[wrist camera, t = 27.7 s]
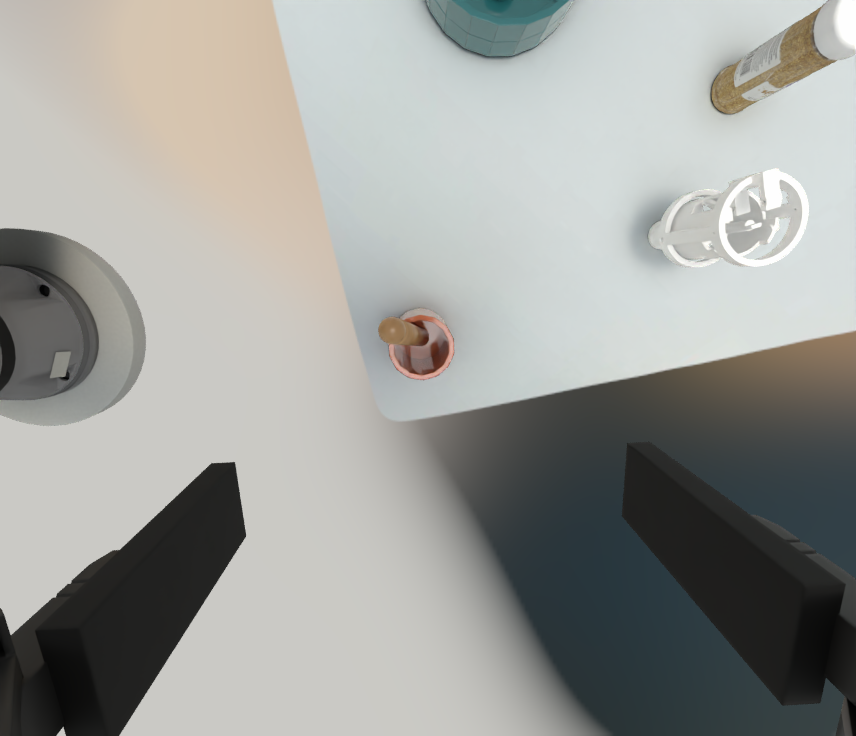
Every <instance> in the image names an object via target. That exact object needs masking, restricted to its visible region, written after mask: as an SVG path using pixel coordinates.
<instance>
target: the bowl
mask: <svg viewBox="0 0 856 736" xmlns="http://www.w3.org/2000/svg"><path fill="white" fill-rule="evenodd" d="M573 1H574V0H426V2H427V5H428V8H429V10H430V12H431V13H432V15H433V16H434V18H435V19H436V21H437V22H438V24H439V25H440V27H441V28H442V30H443V31H444V32H445V33H446V34H447V35H448V36H449V37H451V38H452V39H453V40H454V41H456V42H457V43H458V44H459V45H461V46H462V47H463V48H465V49H468V50H471V51H473V52H476V53H479V54H482V55H485V56H488V57H490V56H513V55H516V54H518V53H521V52H523V51H526V50H528V49H531V48H533V47H535V46H537V45H538V44H539V43H540V42H542V41H543V40H544V39H545V38H546V37H547V36H549V35H550V34H551V33H552V32H553V31H554V30H555V29H556V28H557V27H558V25H559V24H560V22H561V20H562V19H563V17H564V16H565V14H566V13H567V11H568V9H569V8H570V6H571V5H572V3H573Z"/></svg>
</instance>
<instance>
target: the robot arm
mask: <svg viewBox="0 0 856 736" xmlns="http://www.w3.org/2000/svg"><path fill="white" fill-rule="evenodd" d="M98 349H99V337H98V330H97V326H96V323H95V320H94V317H93V315H92V313H91V311H90V309H89V307H88V306H87V304H86V303H85V301H84V300H83V299H82V297H81V296H80V295H79V294H78V293H77V292H76V291H75V290H74V289H73V288H72V287H71V286H70V285H69V284H68V283H66V282H65V281H64V280H62V279H61V278H59V277H57V276H56V275H54V274H52V273H50V272H48V271H45V270H43V269H40V268H37V267H33V266H28V265H12V264H0V400H35V399H41V398H47V397H51V396H55V395H58V394H61V393H64V392H66V391H69V390H71V389H73V388H74V387H76V386H77V385H79V384H80V383H81V382H82V381H83V380H85V378H86V377H87V376H88V375H89V373H90V372H91V370H92V369H93V367H94V365H95V362H96V359H97V355H98ZM622 517H623V518H624V519H625V520H626V521H627V523H628V524H629V525H630V526H631V527H632V529H633V530H634V531H635V532H636V533H637V534H638V536H639V537H640V538H641V539H642V540H643V542H644V543H645V544H646V545H647V546H648V547H649V549H650V550H651V551H652V552H653V553H654V554H655V556H656V557H657V558H658V559H659V560H660V562H661V563H662V564H663V565H664V566H665V567H666V569H667V570H668V571H669V572H670V573H671V575H672V576H673V577H674V578H675V579H676V580H677V582H678V583H679V584H680V585H681V586H682V588H683V589H684V590H685V591H686V592H687V593H688V595H689V596H690V597H691V598H692V599H693V601H695V603H696V604H697V605H698V606H699V607H700V609H701V610H702V611H703V612H704V613H705V615H706V616H707V617H708V618H709V619H710V621H711V622H712V623H713V624H714V625H715V626H716V628H717V629H718V630H719V631H720V632H721V633H722V635H723V636H724V637H725V638H726V639H727V641H728V642H729V643H730V644H731V645H732V647H733V648H734V649H735V650H736V651H737V652H738V654H739V655H740V656H741V657H742V658H743V660H744V661H745V662H746V663H747V664H748V665H749V667H750V668H751V669H752V670H753V671H754V672H755V674H756V675H757V676H758V677H759V678H760V679H761V681H762V682H763V683H764V684H765V685H766V687H767V688H768V689H769V690H770V691H771V693H772V694H773V695H774V696H775V697H776V698H777V700H778V701H779V702H780V703H781V704H782V705H798V704H814V703H820V702H821V697H822V692H823V688H824V683H825V679H826V678H827V679H828V680H829V681H830V682H831V683H832V684H833V685H835V687H836V688H837V689H839V691H840V692H841V693H842V694H843V695H844V696H845V697H844V701H843V706H842V710H841V715H840V719H839V723H838V728H837V732H836V736H856V578H854V577H853V576H851V575H850V574H848V573H847V572H846V571H844V570H843V569H841V568H840V567H838V566H837V565H835V564H834V563H833V562H831V561H830V560H828V559H827V558H825V557H824V556H823V555H821V554H817V553H816V551H815V550H814V549H812V548H811V547H810V546H808V545H807V544H805V543H804V542H800V540H799V539H798V538H797V537H795V536H794V535H792V534H791V533H790V532H788V531H787V530H785V529H784V528H782V527H781V526H779V525H777V524H775V523H773V522H770V521H768V520H766V519H764V518H761V517H759V516H757V515H750V514H748V513H747V512H746V511H744V510H743V509H741V508H740V507H739V506H737V505H736V504H735V503H733V502H732V501H730V500H729V499H728V498H726V497H725V496H724V495H722V494H721V493H719V492H718V491H717V490H715V489H714V488H713V487H711V486H710V485H708V484H707V483H706V482H704V481H703V480H701V479H700V478H699V477H697V476H696V475H695V474H693V473H692V472H690V471H689V470H688V469H686V468H685V467H684V466H682V465H681V464H679V463H678V462H677V461H675V460H674V459H672V458H671V457H670V456H668V455H667V454H666V453H664V452H663V451H661V450H660V449H659V448H657V447H656V446H655V445H653V444H652V443H650V442H638V443H627V453H626V468H625V481H624V494H623V509H622ZM245 537H246V532H245V525H244V518H243V512H242V506H241V499H240V492H239V487H238V479H237V473H236V467H235V462H230V463H212V464H210V465H209V466H208V467H207V468H206V469H205V470H204V471H203V472H202V473H201V474H200V475H199V476H198V477H197V478H196V479H194V480H193V481H192V482H191V483H190V484H189V485H188V486H187V487H186V488H185V489H184V490H183V491H182V492H181V493H180V494H179V495H178V496H176V497H175V499H173V500H172V501H171V502H170V503H169V504H168V505H167V506H166V507H165V508H164V509H163V510H162V511H161V512H160V513H158V514H157V515H156V516H155V517H154V518H153V519H152V520H151V521H150V522H149V523H148V524H147V525H146V526H145V527H144V528H143V529H142V530H140V531H139V533H137V534H136V535H135V536H134V537H133V538H132V539H131V540H130V541H129V542H128V543H127V544H126V545H125V546H124V547H122V548H121V549H120V550H116V551H115V550H114V551H112V552H110V553H108V554H106V555H105V556H103V557H101V558H100V559H98V560H96V561H95V562H93V563H92V564H90V565H89V566H88V567H86V568H85V569H84V570H83V571H82V572H81V573H80V574H79V575H78V576H77V577H75V578H74V579H73V580H72V583H71V584H68V585H67V586H65V588H63V589H62V590H61V591H60V592H59V593H58V594H57V596H56V598H52V599H51V600H50V601H49V602H48V603H46V604H45V605H44V606H43V607H42V608H41V609H40V610H39V611H38V612H37V613H35V614H34V615H33V616H32V617H31V618H30V619H29V620H28V621H27V622H25V623H24V624H23V625H22V626H21V627H20V628H19V629H18V630H17V631H15V632H14V633H13V634H12V635H10V632H9V629H8V626H7V623H6V620H5V616H4V614H3V612H2V610H1V608H0V736H56V735H57V734H58V733H59V731H60V730H61V729H62V727H64V730H65V734H66V736H119V735H120V733H121V732H122V730H123V729H124V727H125V725H126V724H127V722H128V721H129V719H130V718H131V716H132V715H133V713H134V711H135V710H136V708H137V707H138V705H139V703H140V702H141V700H142V699H143V697H144V696H145V694H146V693H147V691H148V689H149V688H150V686H151V685H152V683H153V682H154V680H155V678H156V677H157V675H158V674H159V672H160V670H161V669H162V667H163V666H164V664H165V663H166V661H167V659H168V658H169V656H170V654H171V653H172V651H173V650H174V649H175V647H176V645H177V644H178V642H179V641H180V639H181V638H182V636H183V634H184V633H185V631H186V630H187V628H188V627H189V625H190V623H191V622H192V620H193V619H194V617H195V616H196V614H197V612H198V611H199V609H200V608H201V606H202V605H203V603H204V601H205V599H206V598H207V597H208V595H209V594H210V592H211V590H212V589H213V587H214V586H215V584H216V583H217V581H218V579H219V578H220V576H221V575H222V573H223V572H224V570H225V568H226V567H227V565H228V564H229V562H230V561H231V559H232V557H233V556H234V554H235V553H236V551H237V550H238V548H239V546H240V545H241V543H242V542H243V540H244V539H245Z"/></svg>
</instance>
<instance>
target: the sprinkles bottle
mask: <svg viewBox="0 0 856 736" xmlns="http://www.w3.org/2000/svg"><path fill="white" fill-rule="evenodd" d="M853 55H856V0H828V1H827V2H826V3H825V4H824V5H823V6H822V7H820V8H819V9H817V10H816V11H814V12H813V13H811V14H810V15H808V16H806V17H805V18H803V19H802V20H800V21H798V22H796V23H794V24H793V25H791V26H790V27H788V28H787V29H785V30H784V31H782V32H781V33H779V34H778V35H776V36H774V37H773V38H771V39H770V40H768V41H767V42H765V43H764V44H762V45H761V46H759V47H758V48H756V49H755V50H754V51H752V52H751V53H749V54H748V55H746V56H745V57H744V58H743V59H741V60H740V61H738V62H737V63H735V64H734V65H731V66H728V67H727V68H725V69H724V70H722V71H721V72H720V74H719V75H718V76H717V77H716V79H715V81H714V83H713V87H712V100H713V103H714V106H715V107H716V108H717V109H718V110H719V111H722V112H724V113H728V114H733V113H737V112H740V111H742V110H743V109H744V108H746V107H747V106H749V105H751V104H753V103H755V102H757V101H759V100H762V99H764V98H766V97H768V96H770V95H772V94H774V93H776V92H778V91H779V90H781V89H783V88H785V87H787V86H789V85H791V84H793V83H795V82H797V81H799V80H801V79H803V78H805V77H807V76H809V75H810V74H812V73H813V72H816V71H818V70H820V69H822V68H824V67H826V66H828V65H830V64H831V63H834V62H836V61H837V60H843V59H847V58H849V57H851V56H853Z"/></svg>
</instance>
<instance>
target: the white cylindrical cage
mask: <svg viewBox="0 0 856 736" xmlns="http://www.w3.org/2000/svg"><path fill="white" fill-rule="evenodd" d="M755 187H759V194H760V199H759V198H758V197H757V196H756V195H755V194H753V193H752V192H749V191H748V189H751V188H755ZM780 189H781V190H782V191H785V192H787V193H788V196H787V200H788V202H789V203H787V204H782V205H781V201H782V193H781V194H780ZM694 197H704V198H700V199H696V200H692V201H689V202H687V201H688V200H690V199H692V198H694ZM685 202H687V203H685ZM684 203H685V204H684ZM703 205H705V206H707V207H709V208H710V209H712V210H709V211H704V210H703ZM808 214H809V207H808V200H807V196H806V194H805V191H804V189H803V188H802V186H801V185H800V184H799V182H798V181H797V180H796V179H794V178H793V177H791V176H790V175H788V174H786V173H783V172H779V168H775V169H771V170H768V171H764V172H760V173H757V174H753V175H750V176H746V177H744V178H740V179H737V180H733V181H730V182H729V187H728V188H727V189H726V190H725V191H724V192H723V193H722V192H720V191H717V190H712V189H702V190H698V191H694V192H691V193H687V194H685V195H683V196H681V197H679V198H678V199H676V200H675V201H674V202H673V203H672V204H671V205H670V206H669V207H668V209H667V210H666V212H665V213H664V215H663V217H662V220H661V221H658V222H656V223H655V224H654V225H653V226H652V227H651V228H650V230H649V233H648V240H649V243H650V244H651V246H652V247H654V248H656V249H662V251H663V253H664V254H665V256H666V257H667V258H668V259H669V260H670V261H671V262H673V263H674V264H676V265H679V266H682V267H704V266H708V265H711V264H713V263H715V262H717V261H718V260H720V259H721V258H723V259H724V260H725V261H727V262H729V263H731V264H733V265H737V266H764V265H768V264H771V263H774V262H776V261H778V260H780V259H781V258H783V257H784V256H786V255H787V254H788V253H789V252H790V251H791V250H792V249H793V248H794V247H795V246H796V245H797V243H798V242H799V240H800V239H801V237H802V235H803V233H804V231H805V228H806V225H807V221H808ZM784 218H790V222H789V226H788V229H787V232H786V234H785V236H784V238H783V239H782V241H781V242H780V243H779V244H778V246H777V247H776V248H775V249H774V250H772V251H771V252H770V253H768V254H767V255H765V256H763V257H761V258H758V259H754V260H751V259H747V258H744V257H742V256H744V255H746V254H748V253H750V252H752V251H753V250H754V249H756V248H757V247H758V246H759V245H762V244H768V243H769V242H770V241H771V239H772V238H773V236H774V234H775V232H777V231H779V229H780V226H779V224H778V222H779V219H784ZM710 244H712V245H711V246H710V247H709V246H708V245H710ZM686 259H703V260H701V261H697V262H692V261H688V260H686Z"/></svg>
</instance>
